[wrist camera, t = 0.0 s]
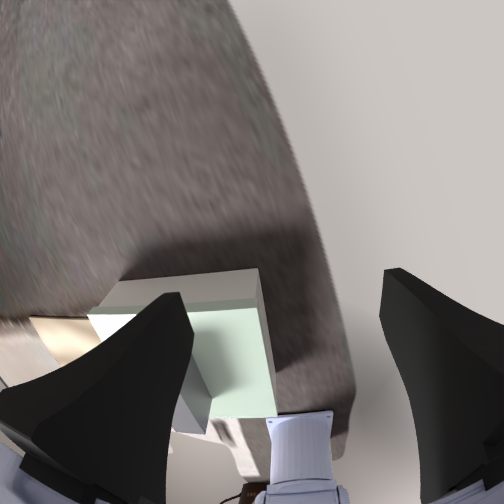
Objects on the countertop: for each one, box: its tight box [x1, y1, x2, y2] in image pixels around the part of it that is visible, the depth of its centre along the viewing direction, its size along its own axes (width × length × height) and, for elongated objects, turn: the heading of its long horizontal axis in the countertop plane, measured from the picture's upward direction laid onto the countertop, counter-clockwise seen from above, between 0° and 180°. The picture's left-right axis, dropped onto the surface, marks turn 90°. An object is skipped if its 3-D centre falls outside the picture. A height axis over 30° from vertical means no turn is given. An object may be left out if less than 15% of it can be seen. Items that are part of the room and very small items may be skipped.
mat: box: [29, 316, 102, 367], centre depth 28 cm, size 16×16×1 cm
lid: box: [87, 298, 278, 434], centre depth 19 cm, size 12×12×6 cm
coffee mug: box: [220, 483, 270, 504], centre depth 40 cm, size 12×9×10 cm
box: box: [98, 268, 276, 395], centre depth 22 cm, size 12×12×4 cm
